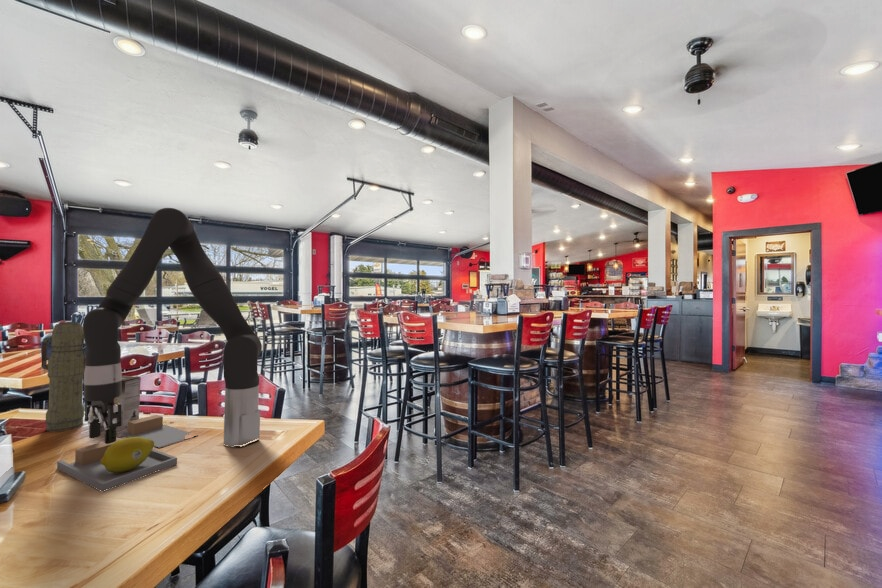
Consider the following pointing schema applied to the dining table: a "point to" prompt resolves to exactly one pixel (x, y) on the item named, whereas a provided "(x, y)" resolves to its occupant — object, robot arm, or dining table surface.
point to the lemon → (126, 454)
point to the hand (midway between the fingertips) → (102, 440)
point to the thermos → (65, 376)
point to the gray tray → (102, 479)
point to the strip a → (155, 431)
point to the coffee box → (129, 399)
